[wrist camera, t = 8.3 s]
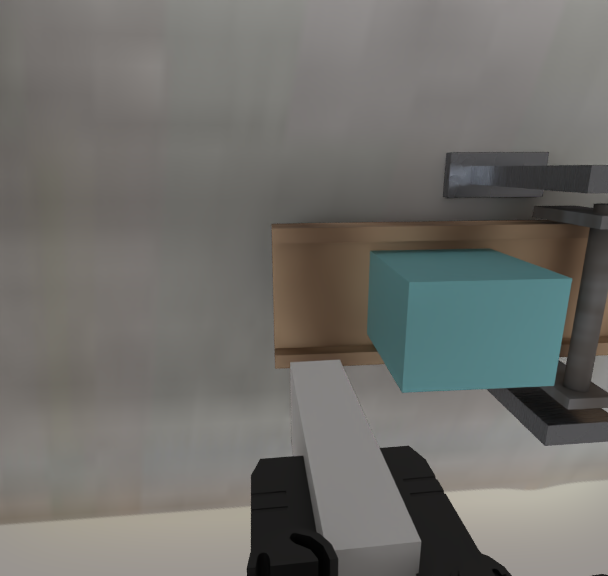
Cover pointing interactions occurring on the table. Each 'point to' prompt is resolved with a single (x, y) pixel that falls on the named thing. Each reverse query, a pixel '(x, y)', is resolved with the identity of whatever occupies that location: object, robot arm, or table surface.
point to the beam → (428, 236)
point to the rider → (465, 319)
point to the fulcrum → (530, 183)
